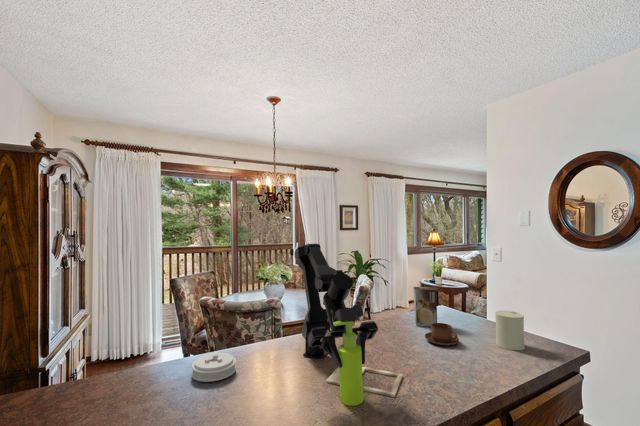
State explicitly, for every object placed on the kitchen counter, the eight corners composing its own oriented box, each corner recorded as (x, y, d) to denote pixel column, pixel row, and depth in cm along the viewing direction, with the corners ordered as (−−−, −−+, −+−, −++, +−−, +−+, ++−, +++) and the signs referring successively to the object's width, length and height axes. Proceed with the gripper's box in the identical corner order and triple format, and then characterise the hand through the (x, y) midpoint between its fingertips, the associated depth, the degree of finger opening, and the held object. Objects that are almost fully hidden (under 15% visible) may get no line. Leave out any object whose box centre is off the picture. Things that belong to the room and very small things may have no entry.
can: (529, 346, 116) (528, 313, 117) (517, 352, 111) (516, 317, 111) (503, 339, 124) (502, 307, 124) (490, 344, 119) (490, 311, 119)
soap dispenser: (335, 394, 84) (331, 318, 85) (360, 391, 85) (357, 316, 85) (338, 407, 79) (334, 325, 79) (365, 404, 79) (362, 323, 79)
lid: (181, 380, 93) (181, 362, 93) (211, 362, 104) (211, 347, 105) (217, 388, 88) (217, 370, 88) (244, 369, 100) (244, 352, 100)
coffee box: (434, 322, 144) (434, 286, 145) (437, 327, 138) (437, 289, 139) (413, 321, 146) (413, 286, 146) (415, 326, 140) (415, 289, 140)
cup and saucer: (461, 340, 123) (461, 324, 123) (455, 351, 113) (455, 333, 113) (429, 334, 130) (429, 319, 130) (421, 344, 119) (421, 327, 120)
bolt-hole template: (326, 382, 91) (326, 379, 91) (341, 364, 102) (341, 361, 102) (394, 397, 83) (394, 393, 83) (402, 376, 94) (402, 373, 94)
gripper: (310, 296, 83) (324, 356, 73) (374, 291, 89) (396, 346, 78) (302, 319, 91) (314, 376, 80) (362, 312, 96) (381, 365, 85)
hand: (352, 365), depth 81 cm, fingers closed on soap dispenser, 6 cm apart
